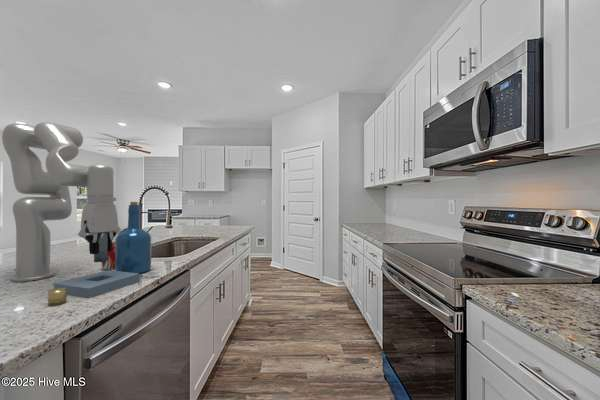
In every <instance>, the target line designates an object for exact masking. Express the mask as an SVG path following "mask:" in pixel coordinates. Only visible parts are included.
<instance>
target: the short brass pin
mask: <svg viewBox="0 0 600 400" xmlns="http://www.w3.org/2000/svg"><path fill="white" fill-rule="evenodd" d="M66 292H67V289H66V288H58V289H54V288H53V289H50V290H48V291H47V306H48V307H58V306H62V305H64V304H67V295H66Z"/></svg>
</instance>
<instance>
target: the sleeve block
mask: <svg viewBox="0 0 600 400" xmlns="http://www.w3.org/2000/svg"><path fill="white" fill-rule="evenodd" d="M140 276H141V273H140V274H139V273H130V272H121V271H115V270H104V271H99V272H95V273H91V274H88V275H83V276H80V277H79V276H78V277H75V278H71V279H66V280H63V281H59V282H55V283H54V284H53V289H58V288H66V289H67V292H66V296H73V297H80V298H85V299H90V298H93V297H97V296H99V295H103V294H106V293H109V292H112V291H115V290H117V289H121V288H124V287H127V286H131V285H133V284H136V283H139V282H140V281H141V280H140V278H141V277H140Z"/></svg>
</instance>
